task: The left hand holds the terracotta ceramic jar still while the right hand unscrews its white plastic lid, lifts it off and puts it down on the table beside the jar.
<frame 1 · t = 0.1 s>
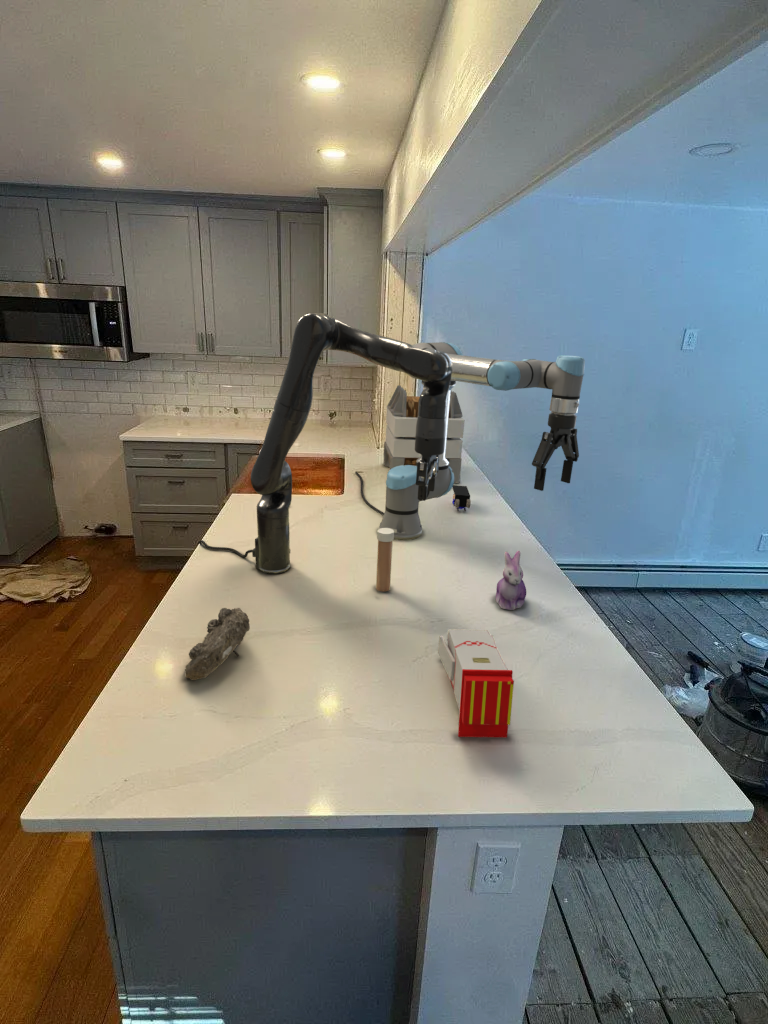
left hand: (426, 495, 148), 29 cm above the counter, tool pointing down, fingers open, 8 cm apart
right hand: (552, 485, 166), 28 cm above the counter, tool pointing down, fingers open, 13 cm apart
toy: (469, 691, 119), on the counter
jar: (383, 588, 161), on the counter
fossil: (222, 655, 127), on the counter
figurine character: (460, 507, 229), on the counter
figurine: (510, 603, 156), on the counter
white slatted crate: (419, 473, 275), on the counter
lid: (385, 532, 155), point 17 cm above the counter, screwed on, not yet turned
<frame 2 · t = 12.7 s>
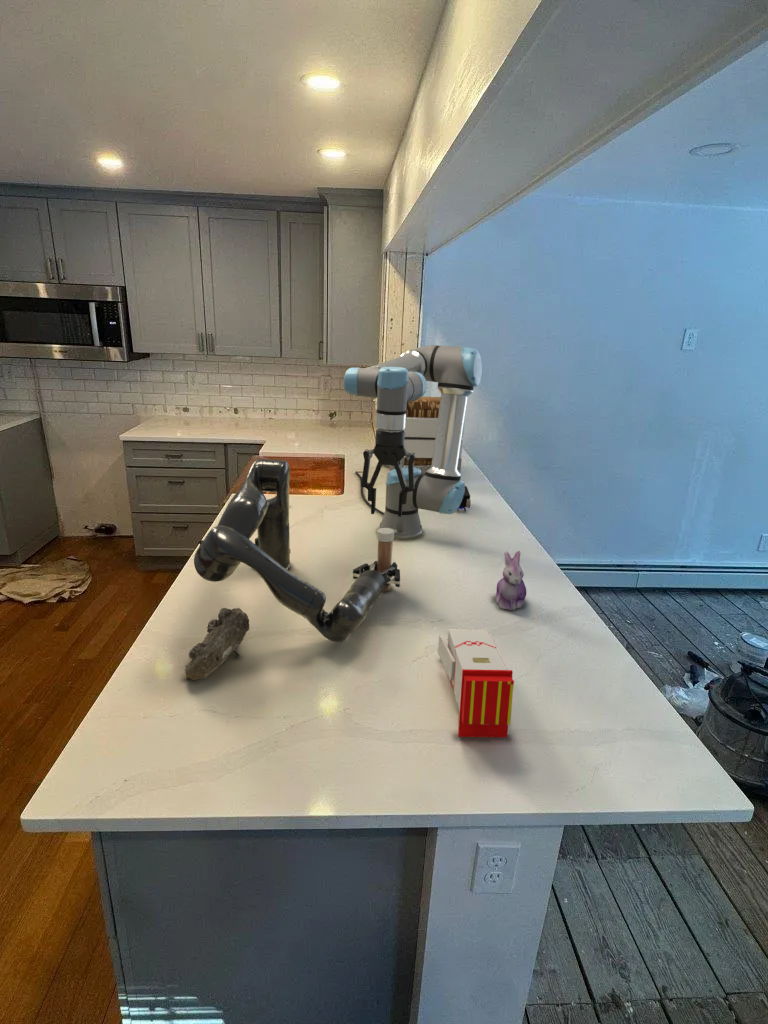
left hand: (387, 564, 161), 6 cm above the counter, tool horizontal, fingers closed on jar, 4 cm apart
right hand: (386, 513, 153), 23 cm above the counter, tool pointing down, fingers open, 7 cm apart
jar: (383, 588, 161), on the counter, touching left hand
everything else where it was.
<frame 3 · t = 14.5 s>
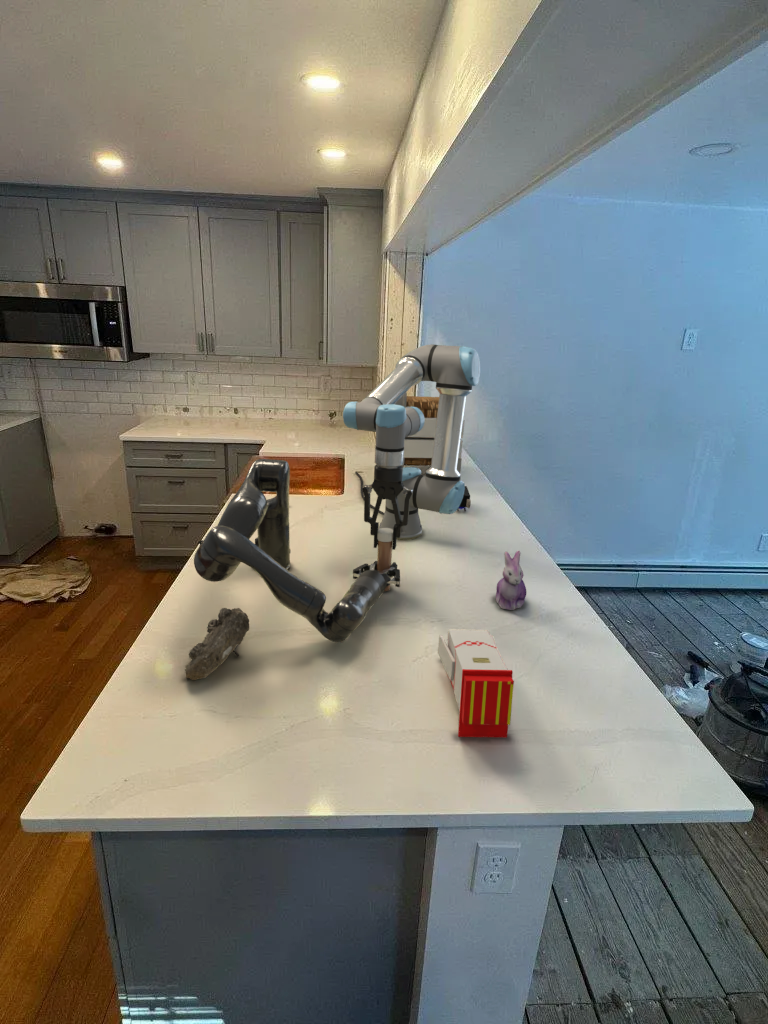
left hand: (387, 564, 161), 6 cm above the counter, tool horizontal, fingers closed on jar, 4 cm apart
right hand: (385, 546, 156), 13 cm above the counter, tool pointing down, fingers closed on lid, 4 cm apart
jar: (383, 588, 161), on the counter, touching left hand
lid: (385, 532, 155), point 17 cm above the counter, screwed on, not yet turned, touching right hand
everything else where it was.
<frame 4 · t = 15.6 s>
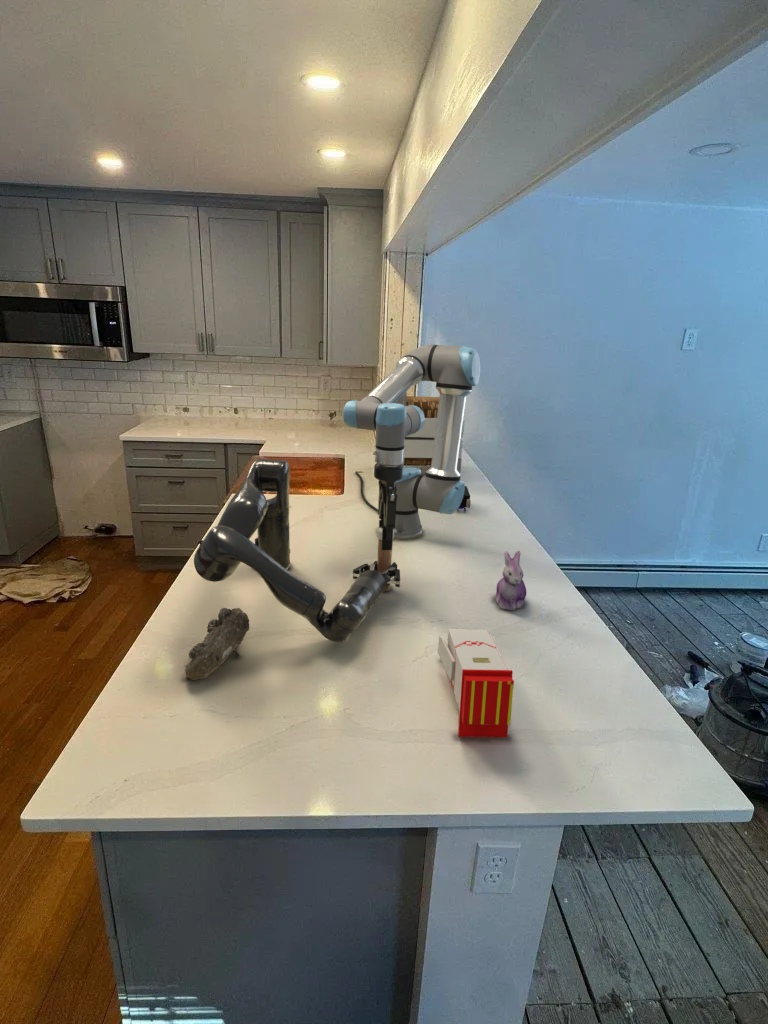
left hand: (387, 564, 161), 6 cm above the counter, tool horizontal, fingers closed on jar, 4 cm apart
right hand: (385, 545, 156), 13 cm above the counter, tool pointing down, fingers closed on lid, 4 cm apart
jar: (383, 588, 161), on the counter, touching left hand
lid: (385, 530, 155), point 18 cm above the counter, off its thread, touching right hand
everything else where it was.
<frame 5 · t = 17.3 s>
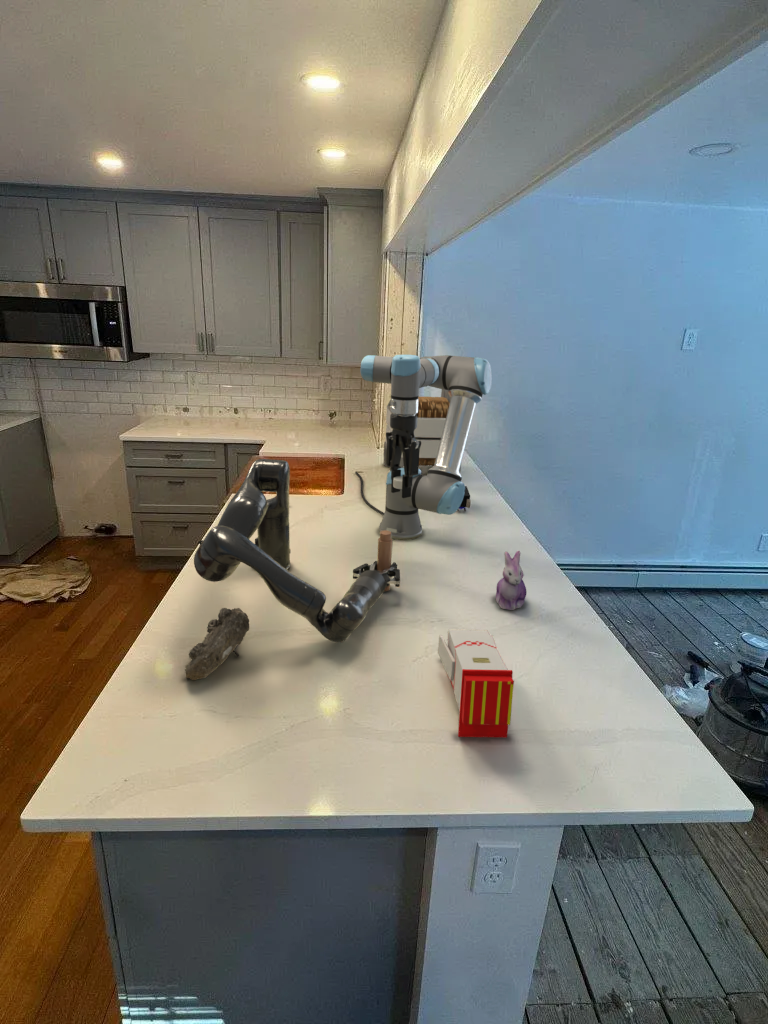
left hand: (387, 564, 161), 6 cm above the counter, tool horizontal, fingers closed on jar, 4 cm apart
right hand: (400, 494, 163), 25 cm above the counter, tool pointing down, fingers closed on lid, 4 cm apart
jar: (382, 588, 161), on the counter, touching left hand
lid: (401, 479, 161), point 29 cm above the counter, off its thread, touching right hand
everything else where it was.
when the right hand's fingers open (0 cm above the counter, at t = 21.1 s): lid drops 2 cm, point 2 cm above the counter.
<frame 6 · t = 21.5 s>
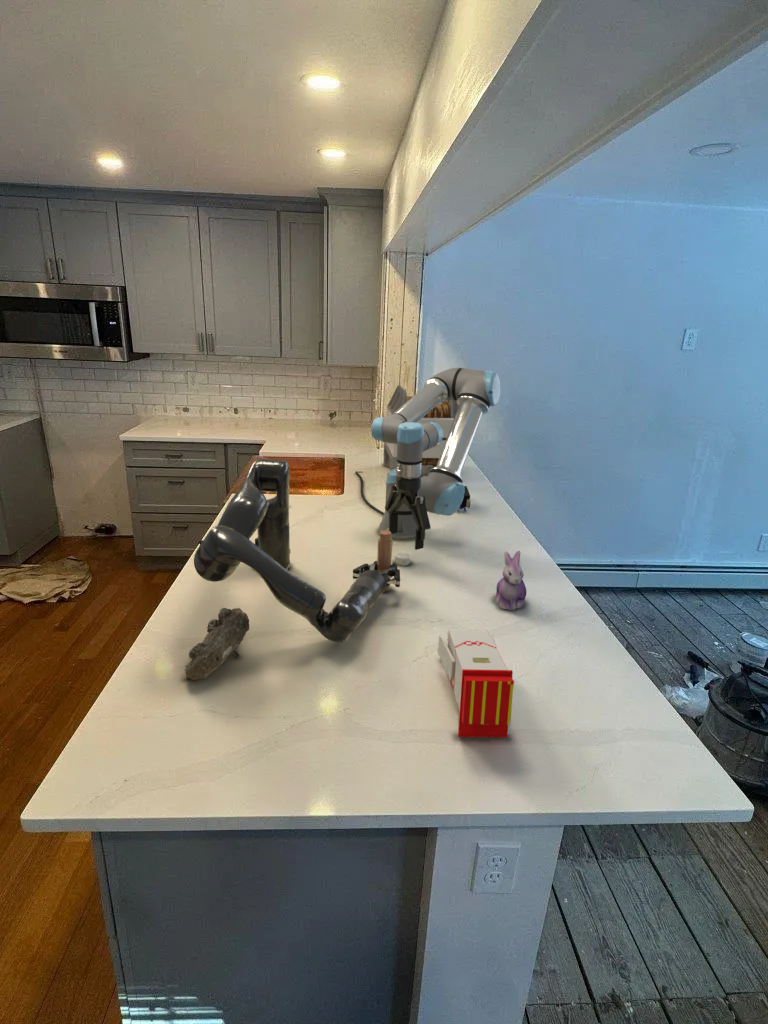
left hand: (387, 564, 161), 6 cm above the counter, tool horizontal, fingers closed on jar, 4 cm apart
right hand: (405, 540, 176), 7 cm above the counter, tool pointing down, fingers open, 13 cm apart
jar: (382, 588, 161), on the counter, touching left hand
lid: (402, 556, 177), point 2 cm above the counter, off its thread
everything else where it was.
when the left hand's fingers open (6 cm above the counter, at t = 21.7 s): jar stays where it is, on the counter.
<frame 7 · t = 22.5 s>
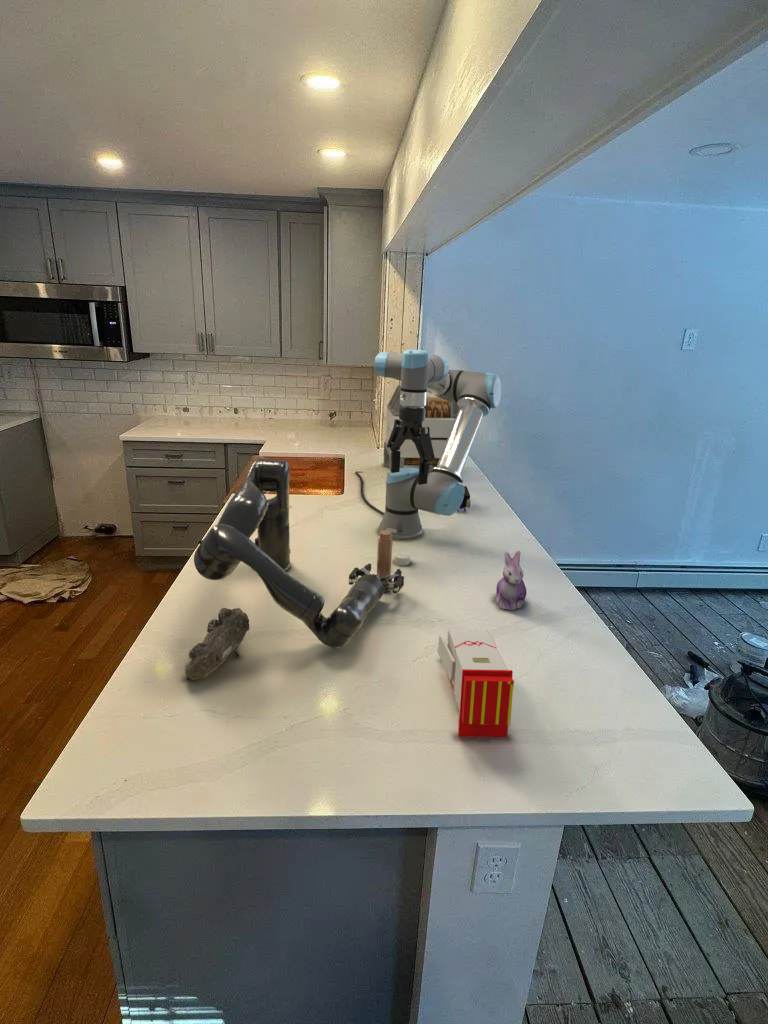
left hand: (384, 569, 159), 6 cm above the counter, tool horizontal, fingers open, 8 cm apart
right hand: (408, 478, 169), 28 cm above the counter, tool pointing down, fingers open, 13 cm apart
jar: (382, 588, 161), on the counter
everything else where it was.
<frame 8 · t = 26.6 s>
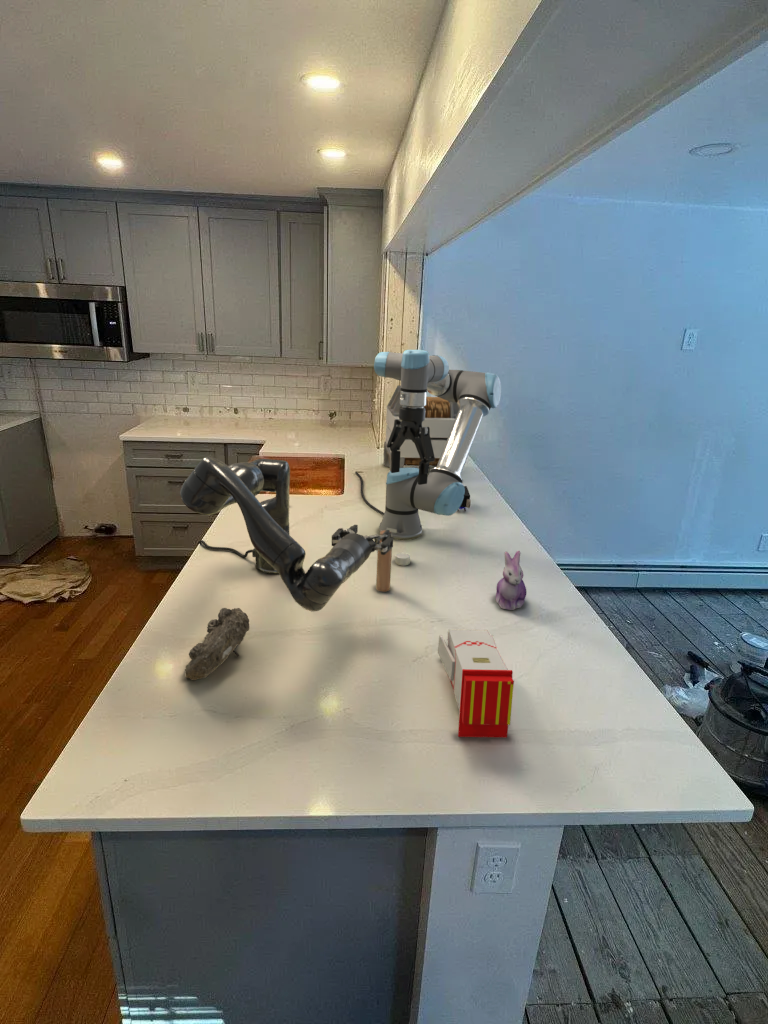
left hand: (372, 530, 143), 22 cm above the counter, tool horizontal, fingers open, 8 cm apart
right hand: (408, 478, 169), 27 cm above the counter, tool pointing down, fingers open, 13 cm apart
nothing on the counter moved.
at the end: lid came off its thread; lid point 2.0 cm above the counter; the left hand is holding nothing; the right hand is holding nothing; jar tilted 0°; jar moved 0.0 cm from its start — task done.
